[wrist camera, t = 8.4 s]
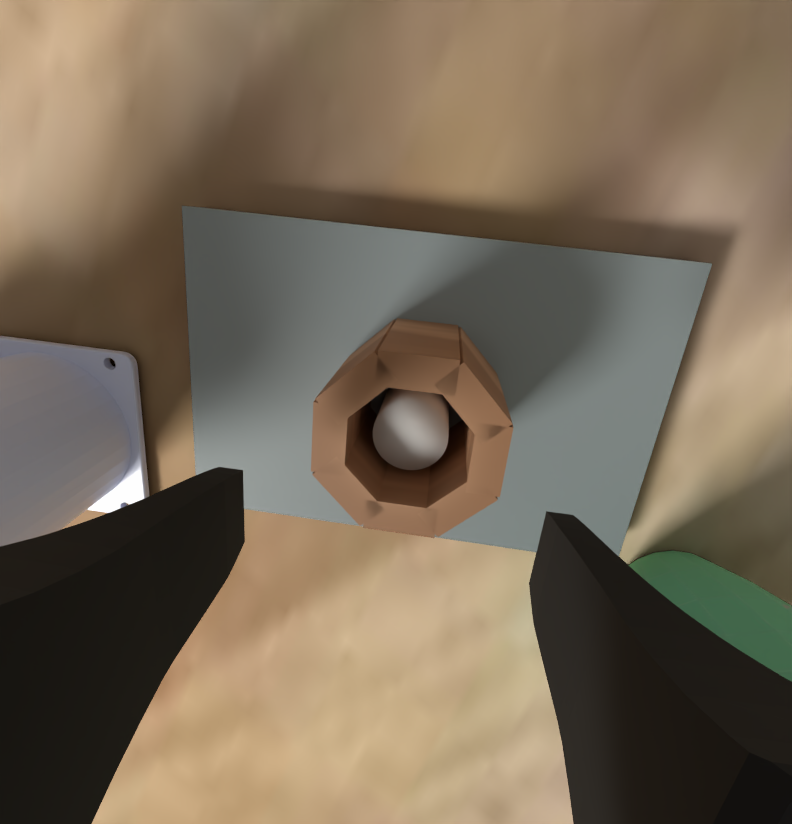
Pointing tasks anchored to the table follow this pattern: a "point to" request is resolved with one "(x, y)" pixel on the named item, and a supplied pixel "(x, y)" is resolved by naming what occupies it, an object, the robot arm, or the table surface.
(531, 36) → the table surface
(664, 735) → the robot arm
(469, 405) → the tube
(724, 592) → the mug
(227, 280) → the post board
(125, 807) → the table surface
